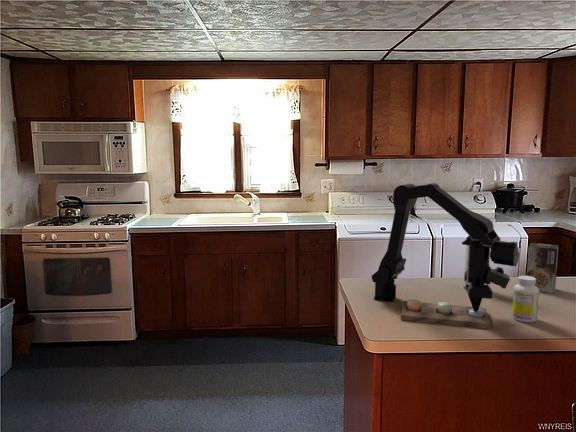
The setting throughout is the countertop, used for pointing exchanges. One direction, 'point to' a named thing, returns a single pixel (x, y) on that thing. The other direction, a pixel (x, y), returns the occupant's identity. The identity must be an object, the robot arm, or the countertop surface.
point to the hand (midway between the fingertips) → (475, 311)
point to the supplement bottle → (525, 299)
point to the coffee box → (543, 265)
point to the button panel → (446, 315)
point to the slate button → (475, 313)
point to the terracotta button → (413, 305)
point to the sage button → (444, 308)
